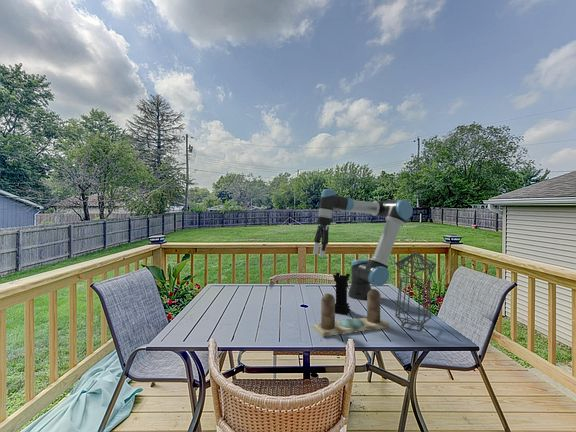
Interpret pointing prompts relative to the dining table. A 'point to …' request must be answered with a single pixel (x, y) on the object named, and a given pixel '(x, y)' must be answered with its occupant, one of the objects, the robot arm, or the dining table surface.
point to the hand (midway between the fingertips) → (318, 255)
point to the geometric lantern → (419, 288)
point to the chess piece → (341, 294)
